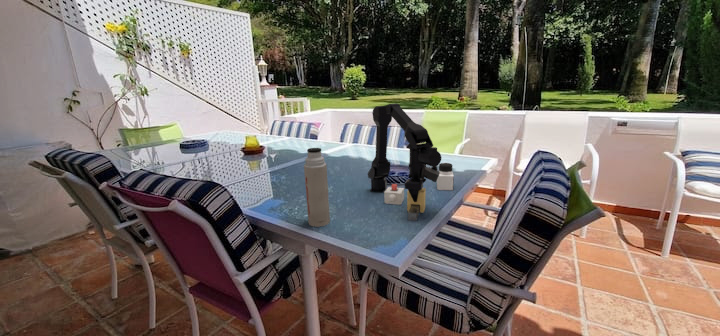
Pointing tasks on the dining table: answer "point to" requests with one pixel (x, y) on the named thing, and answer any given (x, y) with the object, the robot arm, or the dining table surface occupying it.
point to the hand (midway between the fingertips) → (416, 199)
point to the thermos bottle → (316, 188)
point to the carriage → (419, 201)
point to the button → (394, 186)
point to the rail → (413, 212)
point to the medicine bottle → (445, 177)
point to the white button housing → (394, 196)
